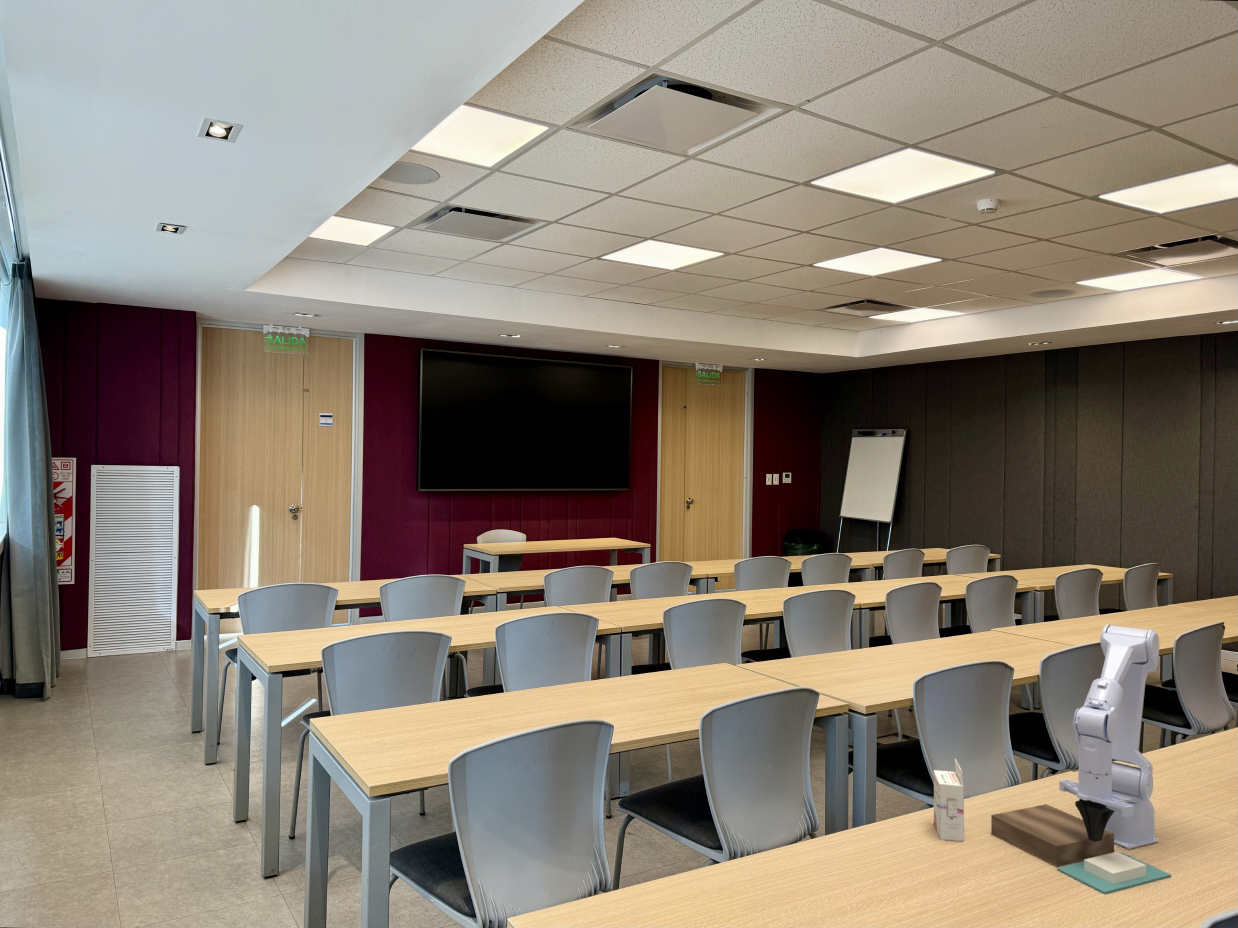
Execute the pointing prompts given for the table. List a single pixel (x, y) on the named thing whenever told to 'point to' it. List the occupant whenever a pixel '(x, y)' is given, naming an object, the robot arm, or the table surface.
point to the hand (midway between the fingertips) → (1095, 839)
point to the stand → (1050, 835)
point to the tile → (1115, 867)
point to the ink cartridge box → (949, 804)
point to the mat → (1106, 887)
